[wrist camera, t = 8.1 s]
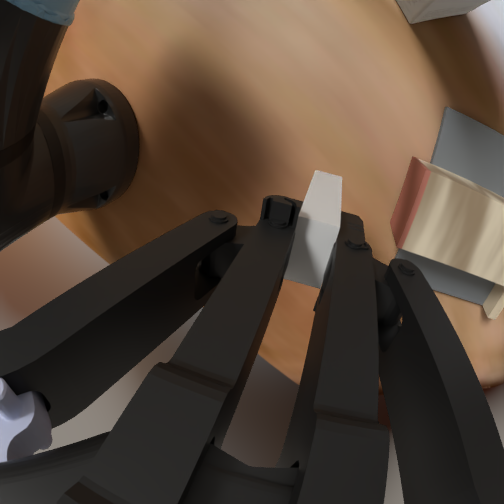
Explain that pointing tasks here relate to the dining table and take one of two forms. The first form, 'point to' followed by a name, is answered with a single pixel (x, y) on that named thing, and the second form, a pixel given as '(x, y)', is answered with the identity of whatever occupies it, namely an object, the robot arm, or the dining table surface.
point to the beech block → (450, 221)
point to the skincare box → (436, 8)
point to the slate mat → (482, 173)
